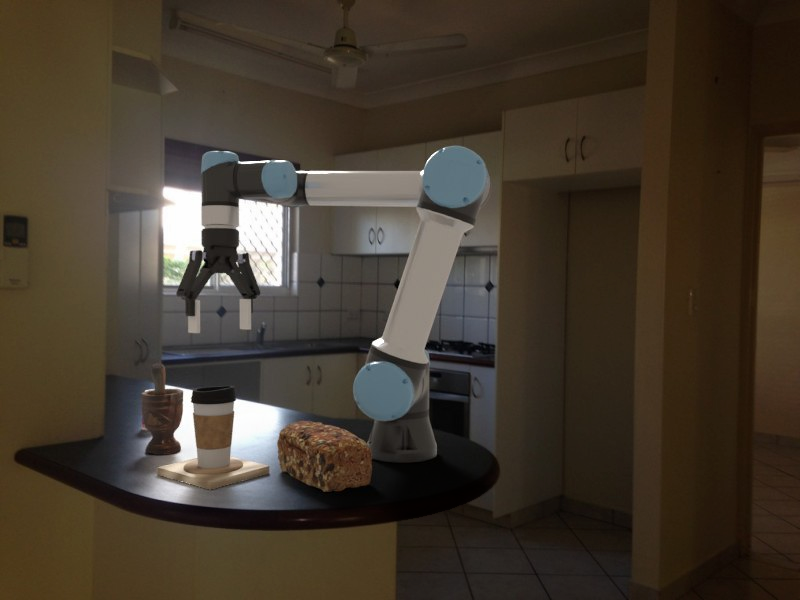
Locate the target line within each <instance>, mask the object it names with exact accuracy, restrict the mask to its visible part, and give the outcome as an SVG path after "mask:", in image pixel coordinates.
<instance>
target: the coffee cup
mask: <svg viewBox="0 0 800 600" xmlns="http://www.w3.org/2000/svg"><path fill="white" fill-rule="evenodd" d="M236 400H237V396H236V390H235V386H234V385H223V386H222V385H221V386H220V385H219V386H204V387H197V388H196V387H195V388H193V389H192V394H191V397H190V403H192V404H193V405H192V407H193V412H192V416H193V426H194V437H195V438H194V439H195V446H196V454H197V455H196V456H197V457H196V458H198V466H199V467H201V468H209V469H211V468H221V467H225V466H228V465H229V464H230V457H231V453H232V451H231V450H232V442H233V441H232V440H233V431H234V417H235V411H234V405H235V401H236Z"/></svg>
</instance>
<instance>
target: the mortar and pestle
mask: <svg viewBox="0 0 800 600" xmlns="http://www.w3.org/2000/svg"><path fill="white" fill-rule="evenodd" d="M166 374H167V373H166V367H165V366H164V364H162V363H160V362H159V363H154V364H153V365H152V366H151V369H150V375H151V379H152V382H153V385H154V389H155V390H150V389H148V390H149V391H146V392H145V391H144V392H141V395H140V397H141V417H142V416H143V421H144V424H145V427H146V429H147V430H149V432H150V434H151V436H152V437H151V439H150V440H149V442H147V443H148V444H147V445H146V447H145V449H144V452H145V453H147V454H152V455H158V456H159V455H171V454H175V453H177V452H180V451H181V450H182V446H181V443H180V442H179V441H178V440H177V439H176V438H175V436H174V435H175V432H176V431H177V429H179V427H180V425H181V423H182V419H183V412H184V404H183V403H184V390H182V389H180V388H166Z"/></svg>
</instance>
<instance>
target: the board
mask: <svg viewBox="0 0 800 600" xmlns="http://www.w3.org/2000/svg"><path fill="white" fill-rule="evenodd" d="M156 475H157V476H159V477H162V476H164V478H166V477H167V479H169V478H172V479H171V480H173V479H175V480H174V481H176V480H179V481H183V482H187V483H190V484H193V485H196V486H199V487H198V488H200V487H202V488H201V489H203V488H206V489H205V490H207V489H209V490H208V491H212V490H211V489H213V490H216V489H215V488H217V489H220V488H223V487H222V486H224V487H226V486H225V485H227V486H230V485H229V484H231V485H233V484H232V483H234V484H236V483H235V482H238V483H240V482H239V481H241V482H243V481H242V480H245V481H247V480H246V479H248V480H251V478H252V479H255V478H259V477H262V475H263V476H266V475H270V465H267V464H262V463H259V462H255V461H251V460H247V459H243V458H238V457H233V456H230V464H229V465H228V466H225V467H221V468H211V469H209V468H201V467H199V466H198V458H197V457H194V458H191V459H187V460H182V461H178V462H174V463H170V464H165V465H160V466H158V467H157V468H156ZM258 476H259V477H258ZM254 477H255V478H254ZM179 481H178V482H179ZM183 482H182V483H183ZM190 484H189V485H190ZM193 485H192V486H193ZM196 486H195V487H196ZM219 487H220V488H219Z"/></svg>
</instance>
